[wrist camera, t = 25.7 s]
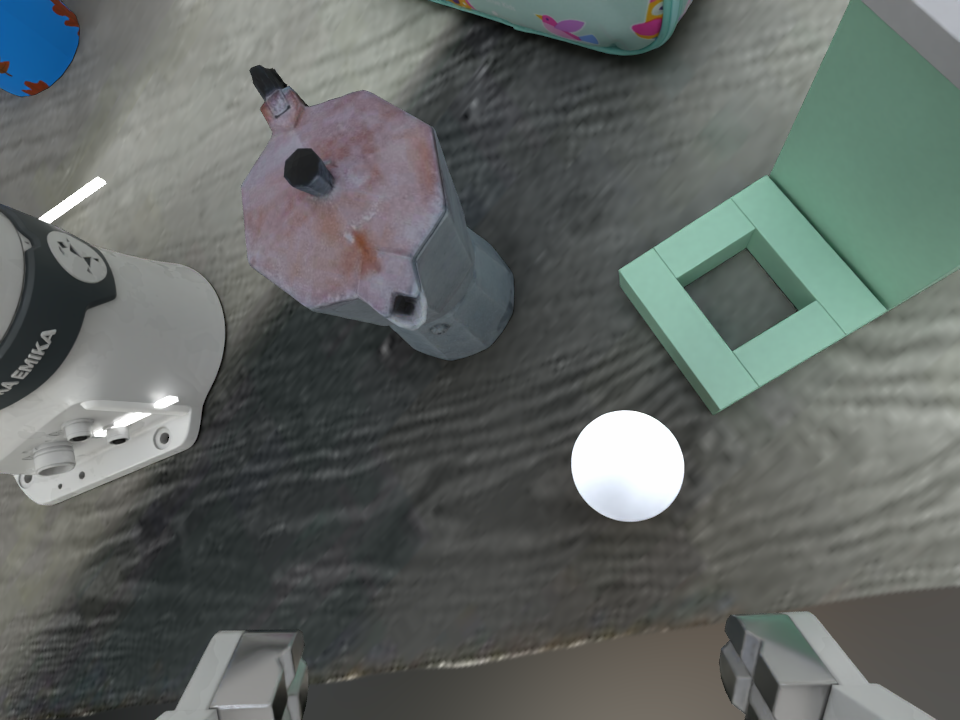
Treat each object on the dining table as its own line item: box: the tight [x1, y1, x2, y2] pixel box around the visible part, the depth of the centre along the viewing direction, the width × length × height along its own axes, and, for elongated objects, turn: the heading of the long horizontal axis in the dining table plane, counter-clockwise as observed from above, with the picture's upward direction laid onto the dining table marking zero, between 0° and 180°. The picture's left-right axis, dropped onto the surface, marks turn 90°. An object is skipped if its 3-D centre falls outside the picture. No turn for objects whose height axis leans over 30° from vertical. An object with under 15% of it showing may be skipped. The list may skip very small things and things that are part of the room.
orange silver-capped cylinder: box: [571, 410, 684, 522], centre depth 28 cm, size 4×4×12 cm
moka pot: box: [241, 65, 514, 361], centre depth 30 cm, size 10×15×20 cm, turn 36°
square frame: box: [619, 175, 887, 415], centre depth 33 cm, size 10×10×3 cm
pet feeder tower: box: [769, 0, 960, 321], centre depth 25 cm, size 7×11×18 cm, turn 30°
